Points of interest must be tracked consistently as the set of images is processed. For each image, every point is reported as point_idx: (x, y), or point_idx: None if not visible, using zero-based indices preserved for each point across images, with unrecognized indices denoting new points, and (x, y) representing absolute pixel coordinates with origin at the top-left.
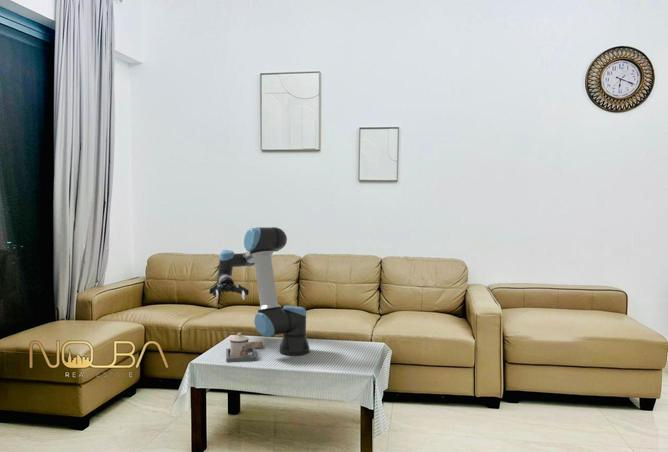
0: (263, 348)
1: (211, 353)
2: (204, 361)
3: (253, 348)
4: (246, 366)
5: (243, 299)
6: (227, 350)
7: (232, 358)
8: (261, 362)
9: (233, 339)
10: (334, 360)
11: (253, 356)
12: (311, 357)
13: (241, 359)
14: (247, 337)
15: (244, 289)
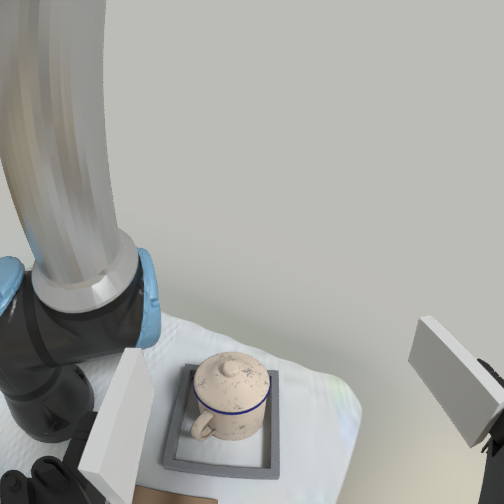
0: None
1: (335, 472)
2: (343, 392)
3: (168, 451)
4: (223, 335)
5: (153, 388)
6: (274, 451)
7: None
8: (177, 352)
9: (256, 364)
10: None
11: (192, 367)
12: None
13: None
14: (196, 381)
15: (53, 467)
